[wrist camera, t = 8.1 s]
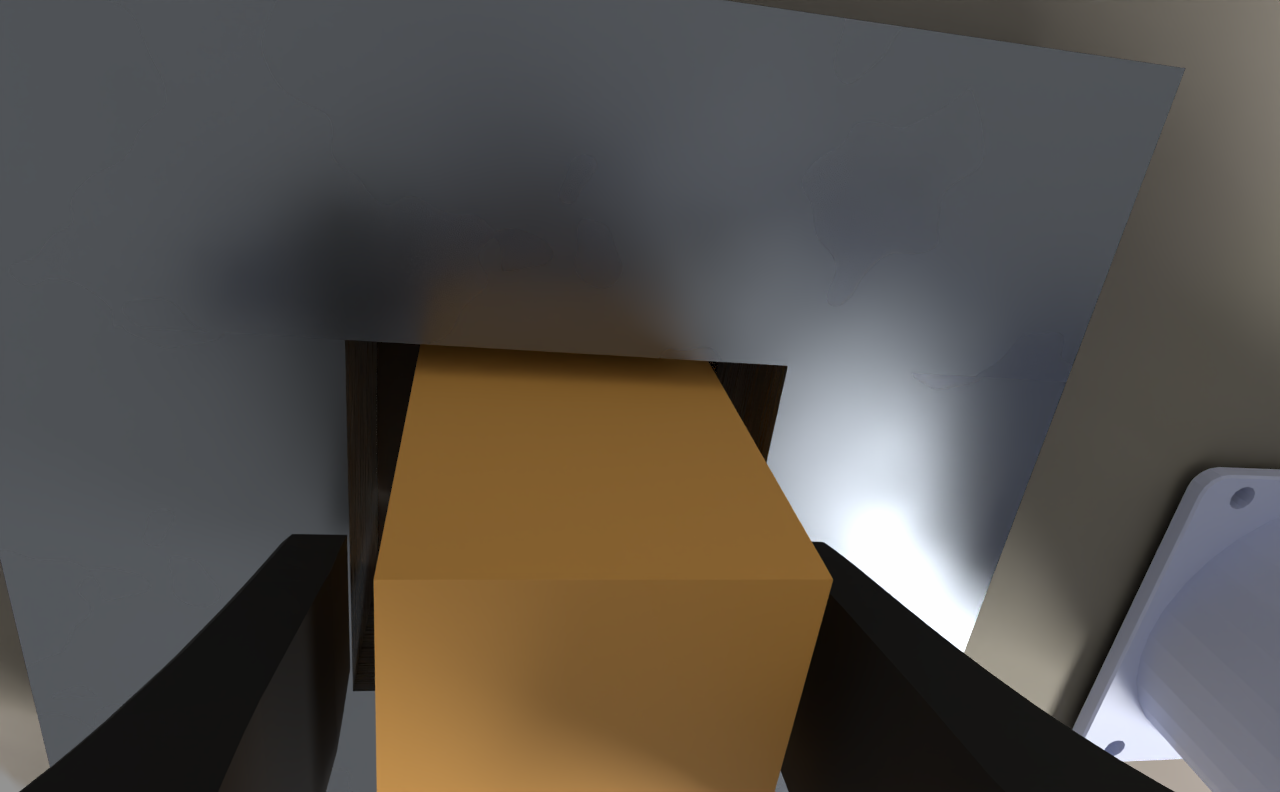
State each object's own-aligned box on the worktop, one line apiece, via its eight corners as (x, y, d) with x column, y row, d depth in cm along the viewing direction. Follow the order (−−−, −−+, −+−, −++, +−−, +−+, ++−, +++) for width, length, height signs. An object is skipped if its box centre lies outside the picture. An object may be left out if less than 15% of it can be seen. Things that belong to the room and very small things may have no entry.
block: (679, 310, 14) (833, 580, 8) (648, 513, 15) (753, 868, 9) (430, 295, 13) (372, 579, 7) (426, 509, 15) (378, 895, 8)
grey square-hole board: (1040, 51, 13) (1184, 68, 10) (834, 721, 19) (890, 844, 16) (11, -100, 10) (-166, -132, 7) (149, 742, 16) (80, 895, 13)
